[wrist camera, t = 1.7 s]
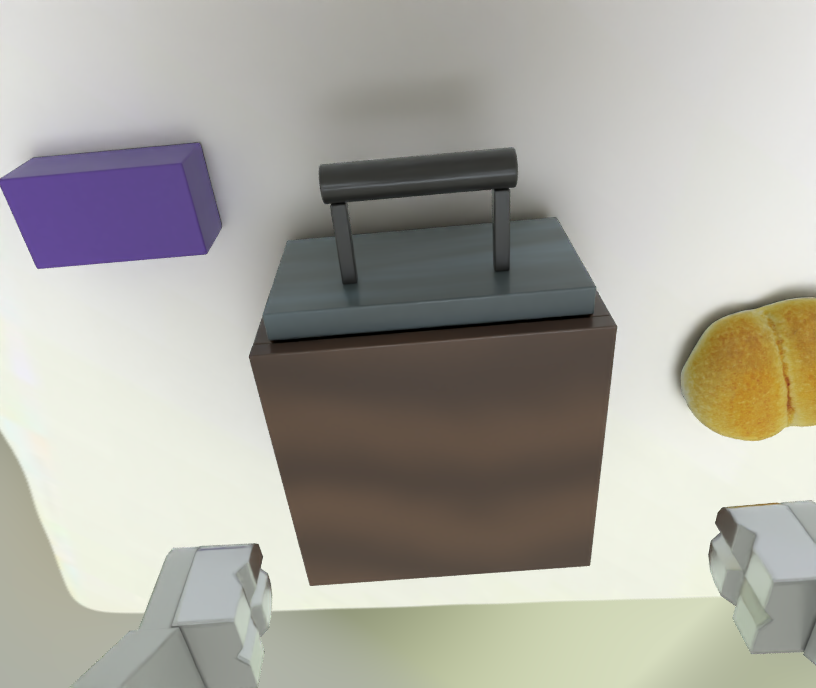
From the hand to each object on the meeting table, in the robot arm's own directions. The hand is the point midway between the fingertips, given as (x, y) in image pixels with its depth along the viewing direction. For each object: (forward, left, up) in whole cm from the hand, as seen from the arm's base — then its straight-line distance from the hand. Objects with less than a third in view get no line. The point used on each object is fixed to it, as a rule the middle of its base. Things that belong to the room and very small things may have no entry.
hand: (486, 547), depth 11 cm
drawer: (+6, -1, -20) cm, 21 cm away
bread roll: (+12, +17, -21) cm, 30 cm away
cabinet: (+10, -1, -21) cm, 23 cm away
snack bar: (0, -14, -21) cm, 25 cm away
